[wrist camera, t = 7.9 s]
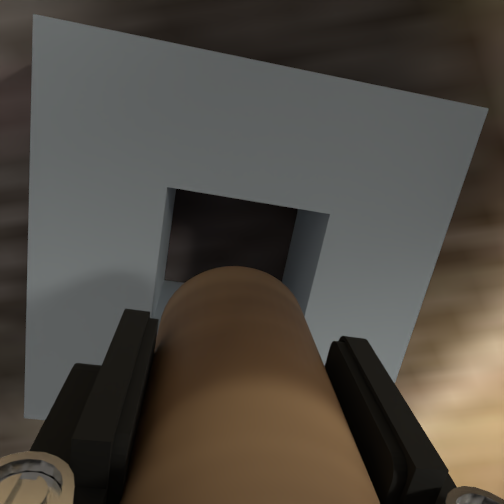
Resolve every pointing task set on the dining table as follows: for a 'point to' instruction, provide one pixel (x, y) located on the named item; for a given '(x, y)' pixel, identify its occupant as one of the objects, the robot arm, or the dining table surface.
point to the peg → (241, 404)
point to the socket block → (225, 188)
